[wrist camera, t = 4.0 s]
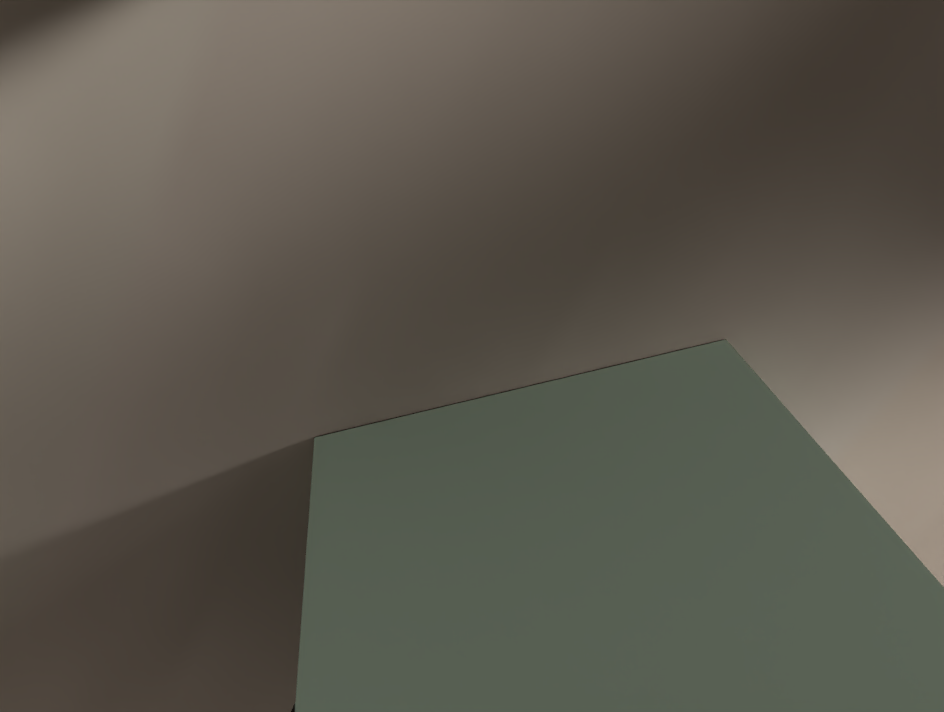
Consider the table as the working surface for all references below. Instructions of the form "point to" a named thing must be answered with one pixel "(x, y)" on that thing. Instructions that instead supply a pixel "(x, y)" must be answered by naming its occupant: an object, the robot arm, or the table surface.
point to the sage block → (609, 558)
